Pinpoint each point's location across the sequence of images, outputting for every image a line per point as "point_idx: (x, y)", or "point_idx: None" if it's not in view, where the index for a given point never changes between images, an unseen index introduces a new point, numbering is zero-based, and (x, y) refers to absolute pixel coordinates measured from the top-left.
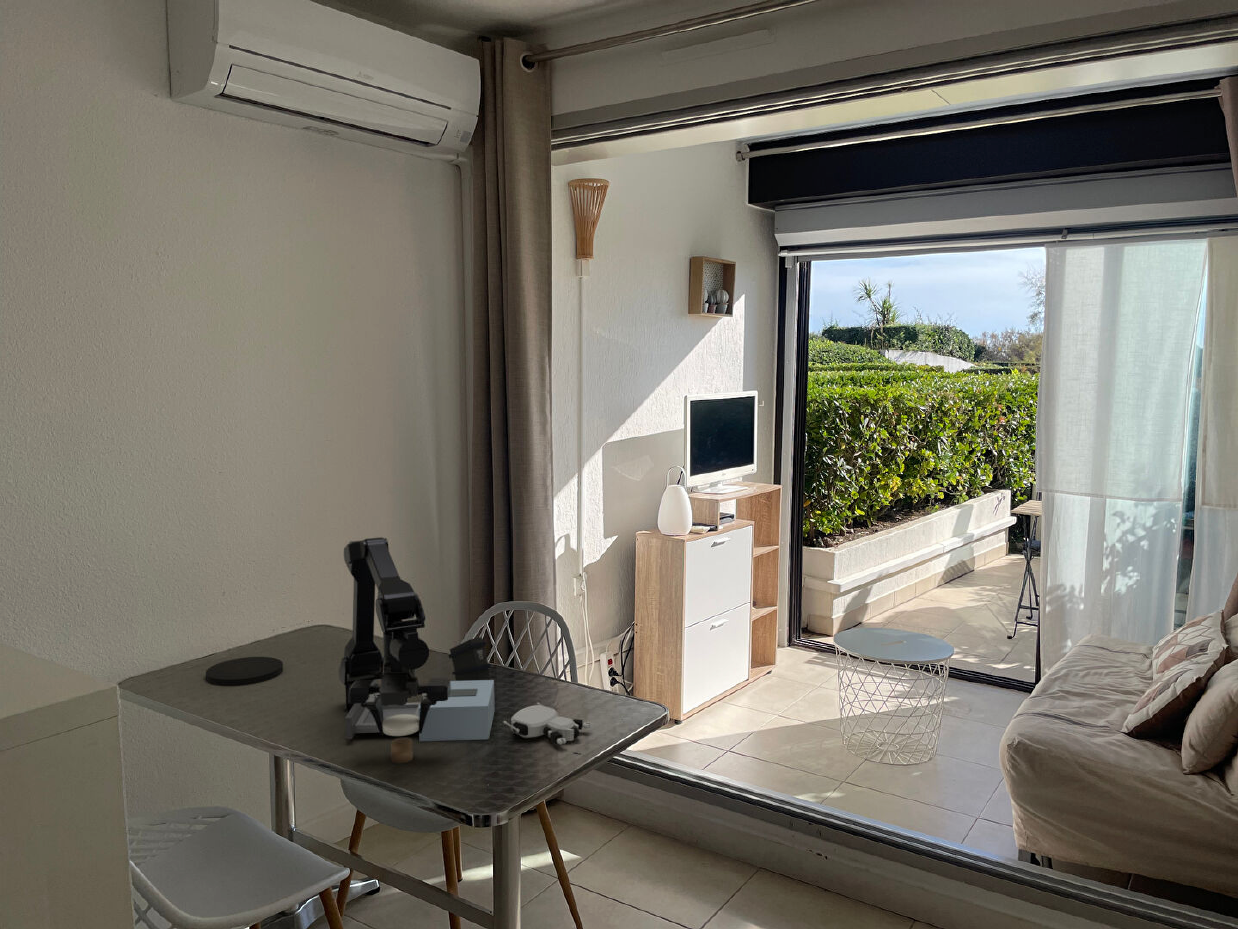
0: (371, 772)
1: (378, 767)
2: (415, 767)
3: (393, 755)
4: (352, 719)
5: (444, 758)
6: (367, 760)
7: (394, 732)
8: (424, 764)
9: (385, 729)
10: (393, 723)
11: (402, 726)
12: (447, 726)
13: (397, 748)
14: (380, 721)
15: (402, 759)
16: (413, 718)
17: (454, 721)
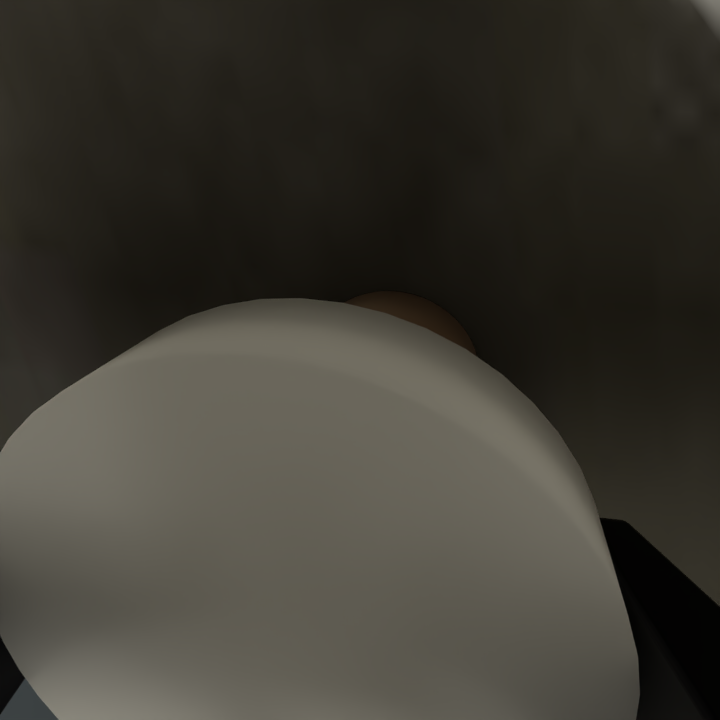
0: (659, 101)
1: (589, 225)
2: (245, 196)
3: (449, 339)
4: None
5: (79, 345)
6: (706, 393)
7: (349, 333)
8: (188, 252)
9: (548, 462)
10: (390, 593)
11: (165, 416)
12: None
13: None
14: (701, 698)
15: (365, 302)
16: (105, 699)
17: (14, 714)
